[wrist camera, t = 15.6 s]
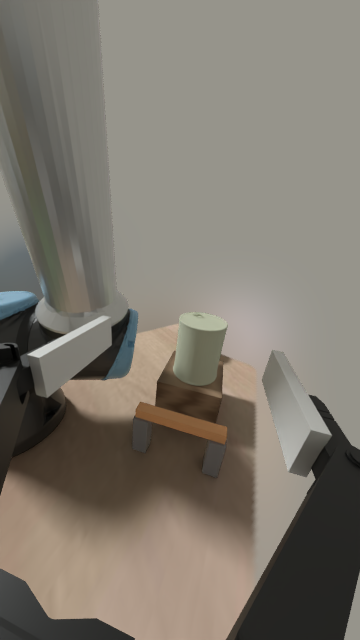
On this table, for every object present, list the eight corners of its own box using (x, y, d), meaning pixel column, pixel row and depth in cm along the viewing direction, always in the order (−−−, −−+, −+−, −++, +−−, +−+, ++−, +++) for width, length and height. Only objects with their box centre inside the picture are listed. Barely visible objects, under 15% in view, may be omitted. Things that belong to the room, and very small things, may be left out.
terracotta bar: (135, 416, 29) (135, 409, 28) (139, 409, 30) (140, 401, 30) (224, 444, 26) (226, 436, 26) (224, 434, 28) (226, 427, 27)
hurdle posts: (132, 448, 31) (133, 418, 29) (138, 435, 33) (139, 406, 31) (216, 477, 29) (226, 447, 26) (217, 462, 31) (226, 432, 28)
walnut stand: (154, 416, 38) (157, 381, 34) (170, 380, 48) (174, 350, 45) (212, 434, 35) (221, 398, 32) (216, 391, 46) (223, 361, 43)
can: (202, 356, 44) (210, 309, 40) (225, 380, 37) (239, 326, 32) (166, 361, 40) (171, 310, 36) (184, 390, 33) (194, 330, 28)
